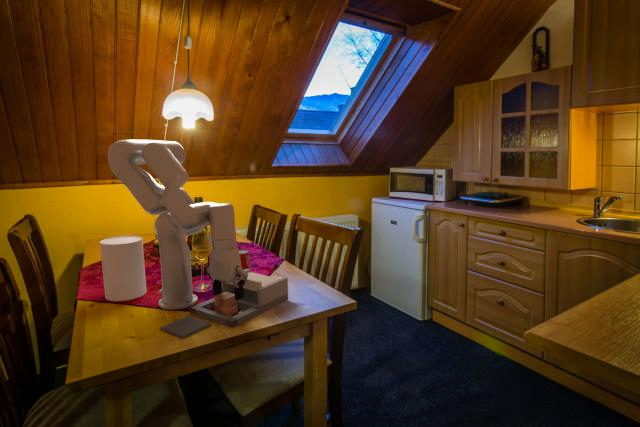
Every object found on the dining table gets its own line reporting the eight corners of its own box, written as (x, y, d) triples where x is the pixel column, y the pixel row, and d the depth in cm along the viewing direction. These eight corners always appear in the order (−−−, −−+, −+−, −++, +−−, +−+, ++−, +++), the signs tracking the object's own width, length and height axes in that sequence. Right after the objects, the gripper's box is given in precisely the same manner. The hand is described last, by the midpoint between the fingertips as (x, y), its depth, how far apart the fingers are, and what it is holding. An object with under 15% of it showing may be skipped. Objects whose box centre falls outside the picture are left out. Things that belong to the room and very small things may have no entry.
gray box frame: (190, 313, 131) (188, 289, 130) (247, 289, 153) (247, 268, 151) (232, 327, 121) (231, 301, 120) (288, 300, 142) (287, 277, 141)
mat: (160, 329, 120) (160, 327, 120) (188, 317, 128) (188, 315, 128) (182, 338, 114) (182, 336, 114) (210, 325, 122) (210, 323, 122)
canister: (120, 303, 140) (114, 246, 136) (97, 296, 147) (91, 241, 143) (154, 291, 151) (150, 238, 148) (131, 285, 158) (127, 234, 155)
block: (215, 314, 131) (214, 296, 130) (226, 309, 135) (226, 291, 134) (226, 317, 128) (225, 299, 127) (237, 312, 132) (237, 294, 131)
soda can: (247, 285, 158) (246, 254, 156) (229, 283, 159) (228, 253, 157) (253, 279, 164) (252, 249, 162) (236, 278, 166) (235, 249, 164)
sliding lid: (225, 283, 140) (225, 274, 140) (250, 274, 150) (249, 265, 150) (259, 292, 132) (258, 282, 131) (283, 281, 142) (282, 272, 141)
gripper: (196, 243, 129) (200, 295, 132) (235, 248, 120) (239, 305, 122) (214, 238, 135) (218, 288, 138) (253, 243, 126) (256, 297, 128)
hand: (228, 296), depth 130 cm, fingers open, 9 cm apart
